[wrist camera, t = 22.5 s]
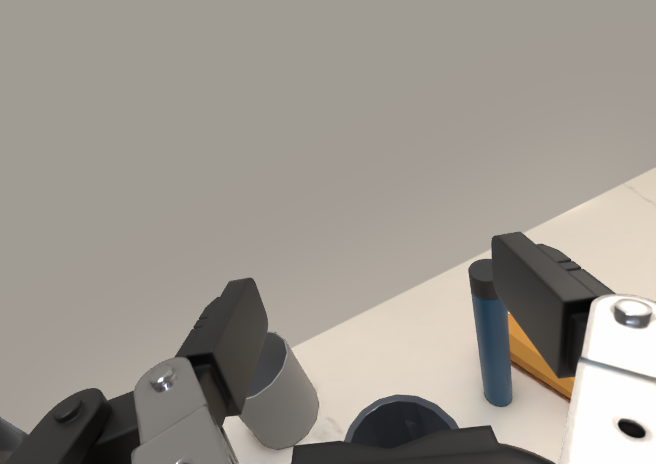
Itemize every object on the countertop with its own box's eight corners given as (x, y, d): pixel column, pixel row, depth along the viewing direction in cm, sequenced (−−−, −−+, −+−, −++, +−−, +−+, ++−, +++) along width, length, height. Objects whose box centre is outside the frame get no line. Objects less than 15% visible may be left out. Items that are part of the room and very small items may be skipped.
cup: (301, 368, 45) (272, 319, 40) (331, 415, 38) (300, 363, 33) (246, 408, 43) (207, 361, 38) (267, 466, 36) (223, 419, 31)
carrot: (480, 340, 41) (470, 328, 38) (505, 313, 41) (496, 299, 38) (698, 517, 25) (708, 519, 22) (736, 472, 25) (752, 469, 23)
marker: (488, 407, 34) (473, 283, 25) (481, 383, 36) (464, 261, 27) (516, 405, 33) (510, 277, 24) (507, 381, 35) (499, 255, 26)
